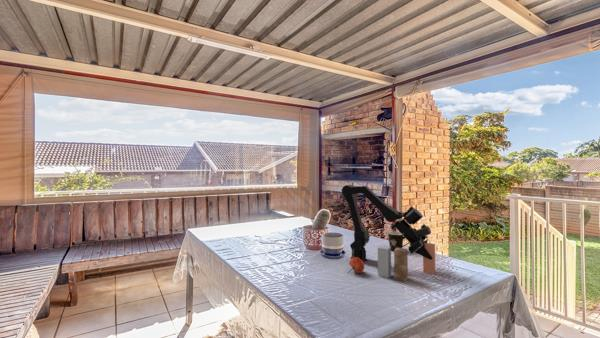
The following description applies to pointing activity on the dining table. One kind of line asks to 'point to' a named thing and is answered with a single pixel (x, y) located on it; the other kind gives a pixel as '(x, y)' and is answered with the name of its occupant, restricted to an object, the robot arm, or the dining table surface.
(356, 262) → the pomegranate
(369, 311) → the dining table surface
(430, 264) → the rust block
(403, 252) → the walnut block
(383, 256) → the slate block
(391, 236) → the coffee mug
